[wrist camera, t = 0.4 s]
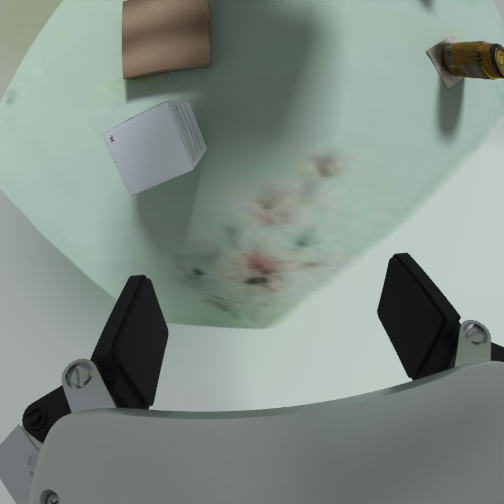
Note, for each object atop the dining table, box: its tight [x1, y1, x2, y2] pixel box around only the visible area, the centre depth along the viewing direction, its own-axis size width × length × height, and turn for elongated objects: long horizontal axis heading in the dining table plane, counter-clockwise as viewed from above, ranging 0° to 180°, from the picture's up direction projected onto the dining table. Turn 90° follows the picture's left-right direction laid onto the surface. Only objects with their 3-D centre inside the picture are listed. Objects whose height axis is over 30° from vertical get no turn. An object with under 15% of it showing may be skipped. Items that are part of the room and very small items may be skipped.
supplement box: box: [103, 101, 207, 196], centre depth 28 cm, size 7×7×13 cm
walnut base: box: [122, 0, 212, 80], centre depth 25 cm, size 12×11×3 cm
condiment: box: [427, 35, 504, 89], centre depth 22 cm, size 7×8×12 cm
